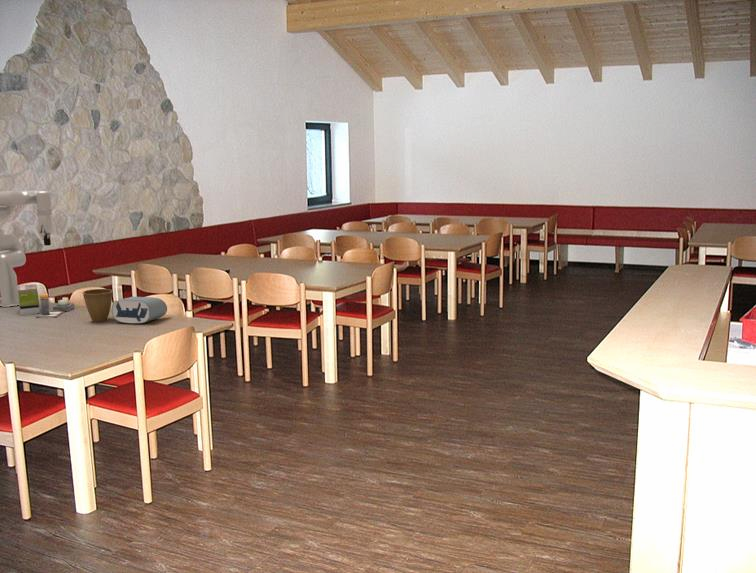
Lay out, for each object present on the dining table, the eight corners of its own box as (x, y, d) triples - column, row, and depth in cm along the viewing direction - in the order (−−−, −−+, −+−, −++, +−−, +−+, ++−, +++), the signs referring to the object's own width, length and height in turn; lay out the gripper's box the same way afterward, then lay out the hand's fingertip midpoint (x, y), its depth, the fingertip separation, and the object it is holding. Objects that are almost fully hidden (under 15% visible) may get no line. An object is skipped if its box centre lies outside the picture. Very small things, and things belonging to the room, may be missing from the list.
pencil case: (112, 323, 399) (111, 299, 398) (132, 317, 418) (131, 294, 416) (150, 324, 394) (149, 300, 392) (168, 318, 412) (167, 295, 411)
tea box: (20, 310, 437) (17, 285, 434) (39, 309, 441) (36, 283, 438) (20, 315, 423) (17, 289, 421) (40, 313, 428) (37, 287, 425)
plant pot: (81, 324, 400) (78, 294, 397) (90, 317, 414) (88, 288, 411) (109, 323, 400) (107, 293, 397) (118, 317, 415) (116, 288, 412)
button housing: (58, 308, 440) (57, 303, 440) (74, 308, 441) (73, 303, 441) (53, 311, 432) (52, 306, 431) (69, 311, 432) (68, 306, 432)
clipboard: (44, 312, 430) (44, 310, 430) (64, 312, 431) (64, 309, 430) (35, 318, 416) (35, 315, 416) (56, 317, 417) (56, 314, 417)
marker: (43, 313, 423) (41, 293, 421) (50, 313, 423) (49, 293, 421) (40, 315, 419) (38, 294, 417) (48, 315, 419) (46, 294, 417)
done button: (60, 306, 438) (59, 299, 438) (69, 306, 439) (68, 299, 438) (57, 308, 433) (56, 301, 433) (66, 307, 434) (66, 301, 433)
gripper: (42, 212, 437) (45, 243, 440) (32, 214, 422) (36, 247, 426) (55, 211, 438) (58, 243, 441) (46, 213, 423) (49, 246, 426)
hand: (47, 245), depth 433 cm, fingers closed
